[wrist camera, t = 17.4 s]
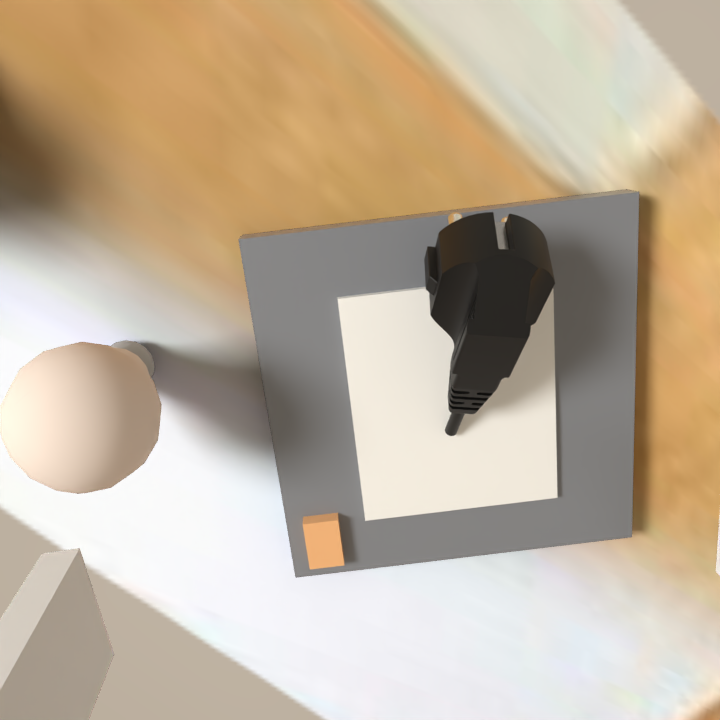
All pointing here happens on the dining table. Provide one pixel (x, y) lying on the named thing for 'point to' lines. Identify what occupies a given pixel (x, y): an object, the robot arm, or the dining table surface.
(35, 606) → the robot arm
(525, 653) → the dining table surface
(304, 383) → the socket board
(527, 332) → the power plug
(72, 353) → the light bulb
